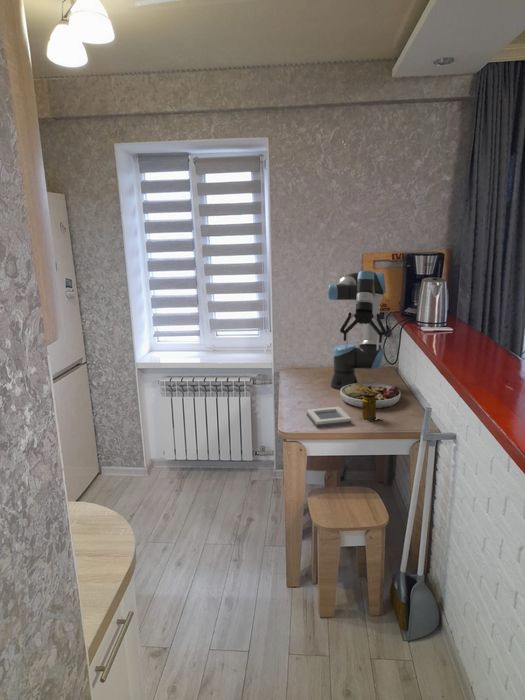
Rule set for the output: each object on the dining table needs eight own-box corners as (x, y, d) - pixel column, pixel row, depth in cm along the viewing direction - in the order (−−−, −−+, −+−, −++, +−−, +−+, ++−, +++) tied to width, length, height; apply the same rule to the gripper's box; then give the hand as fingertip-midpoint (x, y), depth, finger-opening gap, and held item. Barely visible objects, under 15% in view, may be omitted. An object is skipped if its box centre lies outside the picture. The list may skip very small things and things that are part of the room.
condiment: (358, 416, 217) (359, 392, 214) (375, 414, 219) (375, 390, 216) (365, 422, 210) (366, 397, 208) (383, 420, 212) (383, 395, 210)
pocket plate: (306, 415, 221) (306, 409, 221) (338, 411, 224) (338, 406, 224) (316, 427, 206) (316, 422, 205) (351, 424, 209) (351, 418, 208)
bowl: (340, 410, 227) (341, 394, 225) (339, 391, 256) (339, 377, 254) (404, 411, 223) (405, 395, 221) (395, 391, 252) (396, 377, 250)
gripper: (336, 299, 212) (333, 344, 206) (393, 302, 207) (391, 348, 202) (336, 305, 219) (333, 349, 214) (391, 307, 214) (390, 352, 209)
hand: (361, 348), depth 208 cm, fingers open, 13 cm apart
